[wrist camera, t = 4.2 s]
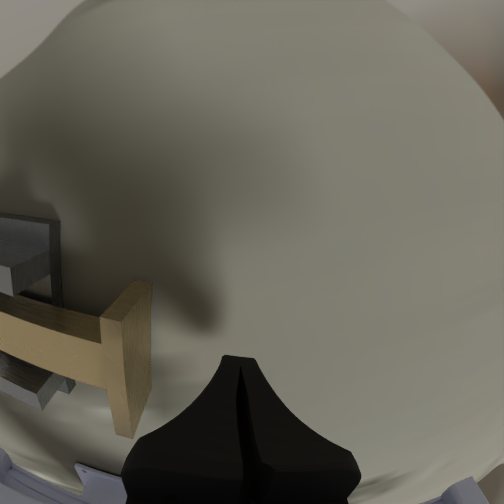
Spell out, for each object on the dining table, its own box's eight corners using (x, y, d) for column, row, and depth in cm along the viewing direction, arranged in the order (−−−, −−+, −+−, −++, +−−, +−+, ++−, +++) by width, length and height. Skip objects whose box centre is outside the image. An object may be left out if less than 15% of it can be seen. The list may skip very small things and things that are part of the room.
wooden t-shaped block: (152, 282, 12) (121, 321, 9) (151, 387, 14) (132, 438, 10) (0, 251, 12) (-46, 271, 8) (14, 345, 13) (-19, 376, 9)
